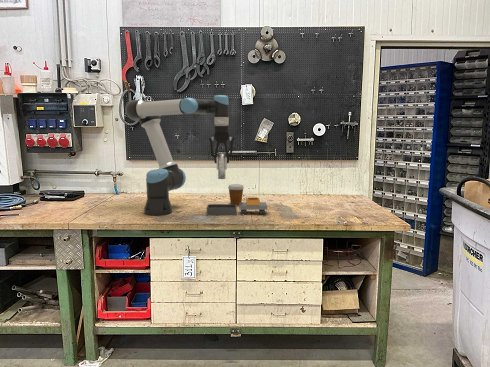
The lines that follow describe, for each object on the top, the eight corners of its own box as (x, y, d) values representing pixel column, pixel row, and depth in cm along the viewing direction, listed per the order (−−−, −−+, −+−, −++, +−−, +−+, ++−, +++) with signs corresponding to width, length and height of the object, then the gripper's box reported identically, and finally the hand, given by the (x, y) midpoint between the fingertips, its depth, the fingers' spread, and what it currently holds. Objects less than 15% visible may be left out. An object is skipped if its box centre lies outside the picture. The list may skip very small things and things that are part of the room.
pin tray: (206, 215, 201) (206, 207, 201) (207, 211, 210) (207, 204, 210) (236, 215, 202) (236, 207, 201) (236, 211, 211) (236, 204, 210)
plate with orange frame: (239, 215, 202) (239, 200, 201) (239, 211, 211) (239, 197, 210) (267, 214, 203) (267, 200, 201) (265, 211, 212) (265, 197, 210)
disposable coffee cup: (231, 207, 221) (231, 187, 219) (225, 204, 229) (225, 184, 227) (246, 206, 224) (246, 186, 222) (240, 202, 233) (240, 183, 231)
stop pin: (217, 179, 201) (217, 154, 199) (218, 178, 205) (218, 154, 203) (225, 179, 201) (225, 154, 199) (225, 178, 205) (225, 154, 203)
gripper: (204, 125, 195) (205, 170, 198) (237, 125, 195) (237, 170, 199) (205, 125, 202) (206, 168, 206) (237, 125, 203) (237, 168, 206)
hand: (221, 169), depth 202 cm, fingers closed on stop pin, 4 cm apart
